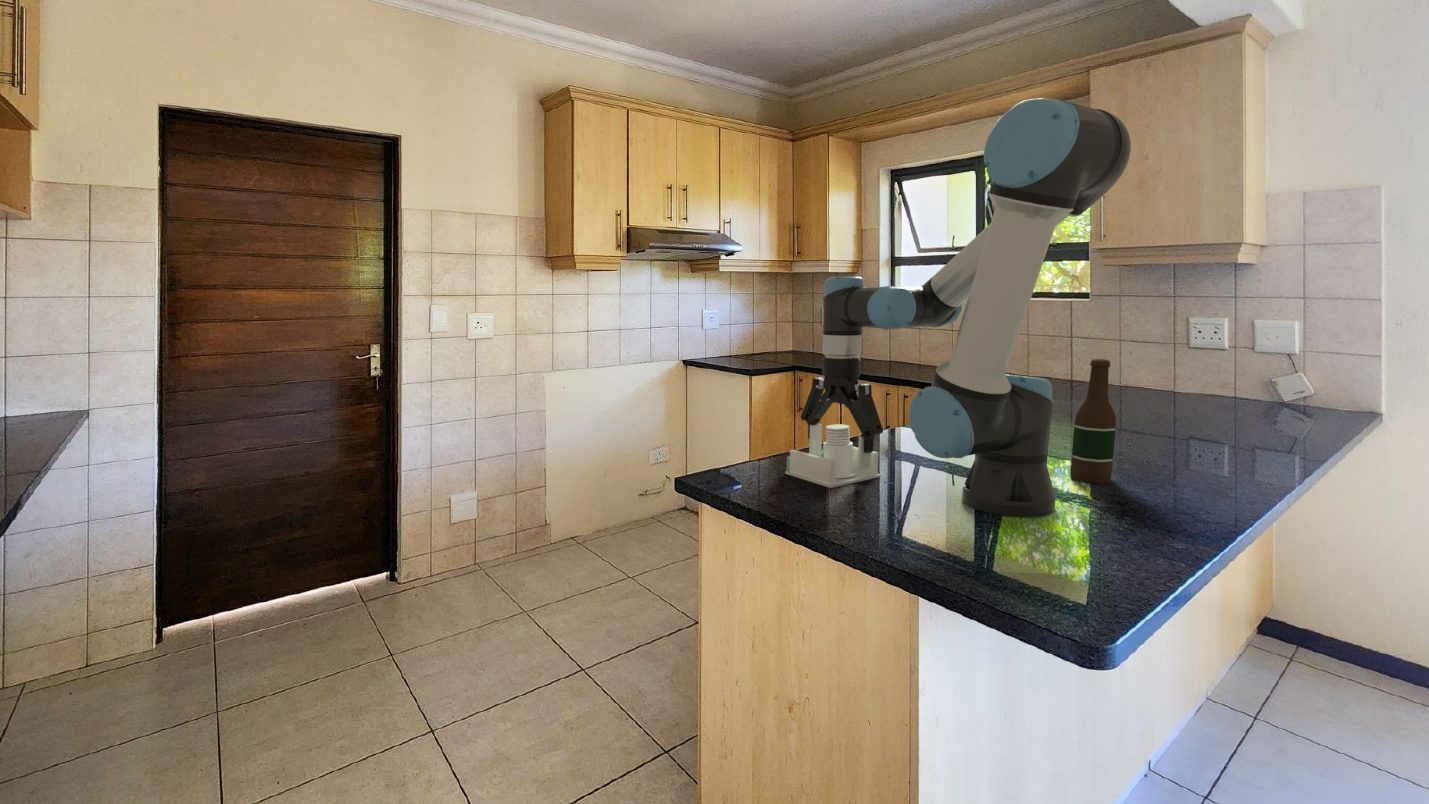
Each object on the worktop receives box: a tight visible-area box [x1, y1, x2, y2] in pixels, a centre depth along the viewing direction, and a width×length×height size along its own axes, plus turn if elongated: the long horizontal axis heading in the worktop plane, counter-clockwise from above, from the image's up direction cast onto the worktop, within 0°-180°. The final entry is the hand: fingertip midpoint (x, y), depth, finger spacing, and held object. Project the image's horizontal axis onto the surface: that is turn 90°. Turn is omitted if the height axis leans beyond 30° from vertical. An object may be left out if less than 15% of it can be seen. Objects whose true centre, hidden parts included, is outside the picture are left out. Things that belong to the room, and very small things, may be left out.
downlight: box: [820, 423, 858, 478], centre depth 142 cm, size 8×7×10 cm
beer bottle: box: [1069, 358, 1117, 485], centre depth 139 cm, size 8×8×24 cm
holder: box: [784, 445, 881, 489], centre depth 143 cm, size 13×14×5 cm
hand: (838, 462), depth 142 cm, fingers open, 13 cm apart
